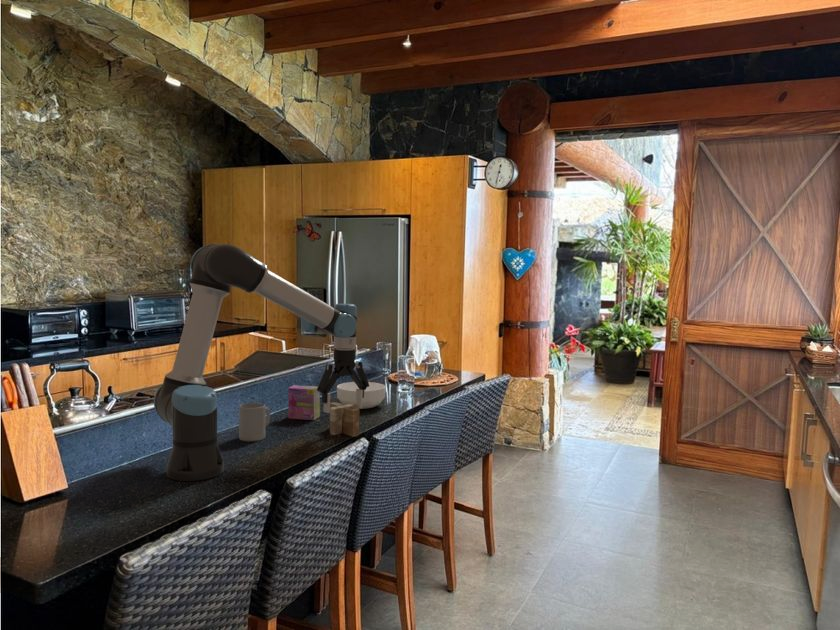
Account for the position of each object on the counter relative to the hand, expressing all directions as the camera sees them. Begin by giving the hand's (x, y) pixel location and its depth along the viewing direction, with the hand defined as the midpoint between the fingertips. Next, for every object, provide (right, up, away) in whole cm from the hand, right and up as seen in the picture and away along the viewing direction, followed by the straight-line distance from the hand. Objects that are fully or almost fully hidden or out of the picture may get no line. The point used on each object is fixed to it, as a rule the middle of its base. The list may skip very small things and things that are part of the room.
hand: (343, 410), depth 221 cm
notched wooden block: (0, -8, +1) cm, 8 cm away
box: (-17, -6, +19) cm, 26 cm away
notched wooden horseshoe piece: (0, -8, +1) cm, 8 cm away
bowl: (+3, -5, +39) cm, 40 cm away
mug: (-28, -8, -7) cm, 30 cm away
